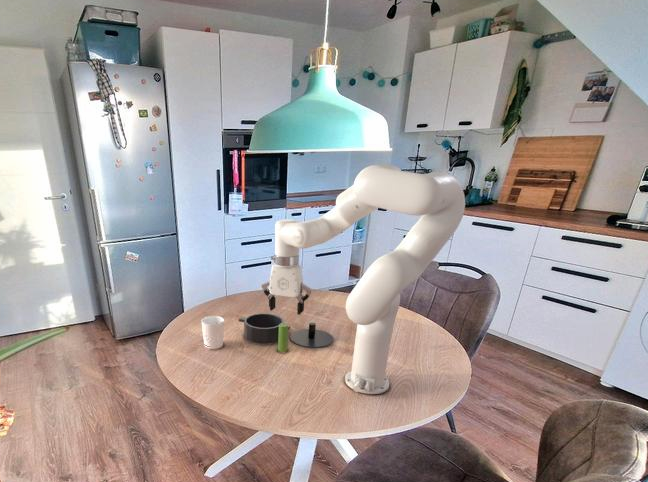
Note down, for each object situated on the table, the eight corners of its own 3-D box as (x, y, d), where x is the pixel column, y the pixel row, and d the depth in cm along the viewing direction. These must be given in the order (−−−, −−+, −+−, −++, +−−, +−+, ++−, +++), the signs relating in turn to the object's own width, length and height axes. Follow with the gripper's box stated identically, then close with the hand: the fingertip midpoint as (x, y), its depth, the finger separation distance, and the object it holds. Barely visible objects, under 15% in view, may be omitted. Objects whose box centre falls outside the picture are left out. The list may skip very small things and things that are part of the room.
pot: (281, 349, 136) (281, 333, 133) (231, 338, 144) (230, 322, 142) (295, 334, 148) (296, 318, 145) (248, 324, 156) (248, 309, 154)
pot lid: (326, 353, 133) (327, 336, 130) (283, 344, 140) (284, 327, 137) (337, 336, 146) (339, 319, 143) (298, 328, 152) (299, 312, 150)
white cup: (219, 351, 135) (218, 325, 131) (199, 348, 137) (197, 322, 133) (227, 342, 142) (227, 317, 138) (207, 339, 144) (206, 314, 140)
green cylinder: (285, 354, 133) (286, 327, 129) (276, 352, 134) (277, 325, 130) (288, 350, 136) (289, 324, 132) (280, 348, 137) (281, 322, 133)
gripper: (256, 260, 122) (257, 311, 129) (309, 265, 115) (307, 318, 121) (266, 255, 128) (266, 304, 135) (317, 259, 121) (314, 311, 128)
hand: (286, 311), depth 128 cm, fingers open, 9 cm apart
